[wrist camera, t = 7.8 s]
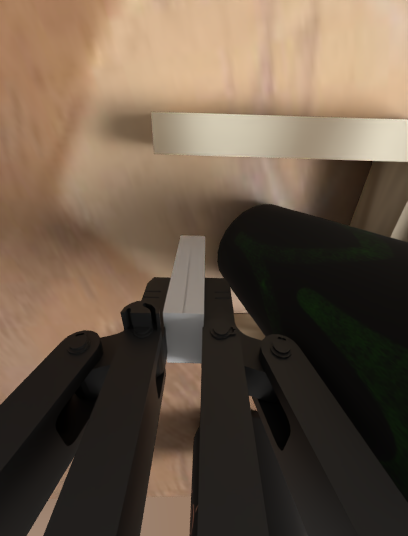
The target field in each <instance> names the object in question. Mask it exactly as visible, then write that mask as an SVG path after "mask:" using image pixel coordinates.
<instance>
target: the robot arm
mask: <svg viewBox="0 0 408 536" xmlns="http://www.w3.org/2000/svg"><path fill="white" fill-rule="evenodd" d="M121 317H122V321H123V326H124V331H123V332H121V333H118V334H115V335H111V336H107V337H102V338H100V337H99V336H98V334H97V333H95V332H93V331H86V330H84V331H79V332H76V333H74V334H72V335H69V336H68V337H67V338H65V339H64V340H63V341H62V342H61V343H60V344H59V345H58V346H57V347H56V348H55V349H54V350H53V351H52V352H51V353H50V354H49V355H48V356H47V357H46V358H45V359H44V360H43V361H42V362H41V363H40V365H39V366H38V367H37V368H36V369H35V370H34V371H33V372H32V373H31V374H30V375H29V376H28V377H27V378H26V379H25V380H24V381H23V382H22V383H21V384H20V385H19V386H18V387H17V388H16V389H15V390H14V391H13V392H12V393H11V394H10V395H9V397H8V398H7V399H6V400H5V401H4V402H3V403H2V404H1V405H0V536H27V534H28V532H29V531H30V529H31V527H32V526H33V524H34V522H35V521H36V519H37V517H38V516H39V514H40V512H41V511H42V509H43V507H44V506H45V504H46V502H47V501H48V499H49V498H50V496H51V494H52V493H53V491H54V489H55V488H56V486H57V484H58V483H59V481H60V479H61V478H62V476H63V474H64V473H65V471H66V469H67V468H68V466H69V464H70V463H71V461H72V459H73V458H74V459H73V462H72V464H71V467H70V469H69V472H68V474H67V477H66V480H65V482H64V485H63V487H62V490H61V492H60V495H59V497H58V500H57V503H56V505H55V508H54V510H53V513H52V515H51V518H50V520H49V523H48V525H47V528H46V530H45V533H44V535H43V536H140V531H141V525H142V519H143V513H144V507H145V501H146V494H147V488H148V482H149V476H150V470H151V464H152V457H153V451H154V445H155V439H156V433H157V427H158V420H159V414H160V408H161V402H162V396H163V390H164V384H165V377H166V370H165V364H166V359H167V362H171V363H202V365H201V368H202V374H201V413H200V453H199V492H198V531H197V536H269V532H268V525H267V518H266V511H265V505H264V498H263V491H262V484H261V477H260V470H259V463H258V457H257V450H256V443H255V436H254V429H253V422H252V416H251V409H250V402H249V396H252V398H253V401H254V403H255V406H256V408H257V411H258V413H259V416H260V418H261V421H262V423H263V426H264V428H265V431H266V433H267V436H268V438H269V441H270V443H271V446H272V448H273V450H274V453H275V455H276V458H277V460H278V463H279V465H280V468H281V470H282V473H283V475H284V478H285V480H286V483H287V485H288V488H289V490H290V493H291V495H292V498H293V500H294V502H295V505H296V507H297V510H298V512H299V515H300V517H301V520H302V522H303V525H304V527H305V530H306V532H307V535H308V536H408V502H407V501H406V500H405V498H404V497H403V495H402V494H401V492H400V491H399V489H398V488H397V487H396V485H395V484H394V482H393V481H392V479H391V478H390V477H389V475H388V474H387V472H386V471H385V469H384V468H383V467H382V465H381V464H380V462H379V461H378V459H377V458H376V456H375V455H374V454H373V452H372V451H371V449H370V448H369V446H368V445H367V444H366V442H365V441H364V439H363V438H362V436H361V435H360V434H359V432H358V431H357V429H356V428H355V426H354V425H353V423H352V422H351V421H350V419H349V418H348V416H347V415H346V413H345V412H344V411H343V409H342V408H341V406H340V405H339V403H338V402H337V400H336V399H335V398H334V396H333V395H332V393H331V392H330V390H329V389H328V388H327V386H326V385H325V383H324V382H323V380H322V379H321V378H320V376H319V375H318V373H317V372H316V370H315V369H314V367H313V366H312V365H311V363H310V362H309V360H308V359H307V357H306V356H305V355H304V353H303V352H302V350H301V349H300V347H299V346H298V345H297V344H296V343H295V342H294V341H293V340H292V339H290V338H288V337H287V336H283V335H280V334H271V335H269V336H266V337H265V338H264V339H263V340H259V339H255V338H252V337H249V336H247V335H245V334H244V333H242V332H241V331H240V330H239V329H238V328H237V326H236V324H235V319H234V312H233V304H232V297H231V290H230V284H229V283H228V282H227V281H226V279H225V278H205V236H192V235H181V236H180V240H179V245H178V249H177V253H176V258H175V262H174V266H173V271H172V275H171V278H160V277H154V278H153V279H152V280H151V281H150V282H149V283H148V284H147V286H146V289H145V292H144V295H143V298H142V300H141V301H136V302H133V303H131V304H129V305H127V306H126V307H124V309H123V310H122V311H121ZM74 456H75V457H74Z"/></svg>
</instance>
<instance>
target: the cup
mask: <svg viewBox="0 0 408 536" xmlns="http://www.w3.org/2000/svg"><path fill="white" fill-rule="evenodd" d="M217 262H218V267H219V271H220V272H221V274H222V276H223V277H224V278H225V279H226V281H227V282H228V283H229V284H230V287H231V289H232V290H233V292H234V293H235V294H236V296H237V297H238V299H239V300H240V301H241V303H242V304H243V306H244V307H245V309H246V310H247V311H248V313H249V314H250V316H251V317H252V318H253V320H254V321H255V323H256V324H257V325H258V327H259V328H260V330H261V331H262V333H263V334H264V335H265V337H266V336H269V335H271V334H280V335H283V336H287V337H288V338H290V339H292V340H293V341H294V342H295V343H296V344H297V345H298V346H299V347H300V349H301V350H302V352H303V353H304V355H305V356H306V357H307V359H308V360H309V362H310V363H311V365H312V366H313V367H314V369H315V370H316V372H317V373H318V375H319V376H320V378H321V379H322V380H323V382H324V383H325V385H326V386H327V388H328V389H329V390H330V392H331V393H332V395H333V396H334V398H335V399H336V400H337V402H338V403H339V405H340V406H341V408H342V409H343V411H344V412H345V413H346V415H347V416H348V418H349V419H350V421H351V422H352V423H353V425H354V426H355V428H356V429H357V431H358V432H359V434H360V435H361V436H362V438H363V439H364V441H365V442H366V444H367V445H368V446H369V448H370V449H371V451H372V452H373V454H374V455H375V456H376V458H377V459H378V461H379V462H380V464H381V465H382V467H383V468H384V469H385V471H386V472H387V474H388V475H389V477H390V478H391V479H392V481H393V482H394V484H395V485H396V487H397V488H398V489H399V491H400V492H401V494H402V495H403V497H404V498H405V500H406V501H407V502H408V242H405V241H402V240H398V239H395V238H391V237H387V236H384V235H380V234H377V233H373V232H369V231H366V230H362V229H359V228H355V227H351V226H348V225H344V224H341V223H337V222H333V221H330V220H326V219H323V218H319V217H315V216H312V215H308V214H305V213H301V212H297V211H294V210H290V209H287V208H283V207H279V206H276V205H272V204H262V205H259V206H255V207H252V208H250V209H249V210H247V211H245V212H243V213H242V214H241V215H240V216H239V217H237V218H236V219H235V220H234V221H233V222H232V223H231V225H230V226H229V227H228V229H227V230H226V232H225V234H224V236H223V238H222V240H221V242H220V245H219V249H218V260H217Z"/></svg>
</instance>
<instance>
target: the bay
mask: <svg viewBox="0 0 408 536" xmlns="http://www.w3.org/2000/svg"><path fill="white" fill-rule="evenodd" d="M151 122H152V135H153V148H154V154H165V155H199V156H232V157H265V158H298V159H331V160H364V161H373V163H372V166H371V169H370V171H369V174H368V177H367V179H366V182H365V185H364V188H363V190H362V193H361V196H360V199H359V201H358V204H357V207H356V209H355V212H354V215H353V218H352V220H351V223H350V226H351V227H355V228H359V229H362V230H366V231H369V232H373V233H377V234H380V235H384V236H387V237H391V238H395V239H398V240H402V241H405V242H408V120H405V119H373V118H340V117H308V116H275V115H242V114H210V113H177V112H151ZM234 319H235V324H236V326H237V328H238V329H239V330H240V331H241V332H242V333H244V334H245V335H247V336H249V337H252V338H255V339H259V340H263V339H264V338H265V335H264V334H263V333H262V331H261V330H260V328H259V327H258V325H257V324H256V323H255V321H254V320H253V318H252V317H251V316H250V314H235V313H234Z"/></svg>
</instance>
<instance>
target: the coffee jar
mask: <svg viewBox="0 0 408 536" xmlns="http://www.w3.org/2000/svg"><path fill="white" fill-rule="evenodd" d="M251 416H252V422H253V429H254V436H255V443H256V450H257V457H258V463H259V470H260V477H261V484H262V491H263V498H264V505H265V511H266V518H267V525H268V532H269V536H308V535H307V532H306V530H305V527H304V525H303V522H302V520H301V517H300V515H299V512H298V510H297V507H296V505H295V502H294V500H293V498H292V495H291V493H290V490H289V488H288V485H287V483H286V480H285V478H284V475H283V473H282V470H281V468H280V465H279V463H278V460H277V458H276V455H275V453H274V450H273V448H272V446H271V443H270V441H269V438H268V436H267V433H266V431H265V428H264V426H263V423H262V421H261V418H260V416H259V413H258V412H257V411H252V410H251ZM199 453H200V427H199V428H198V430H197V432H196V434H195V437H194V445H193V468H192V491H191V514H190V516H191V517H190V536H197V531H198V492H199Z"/></svg>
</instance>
